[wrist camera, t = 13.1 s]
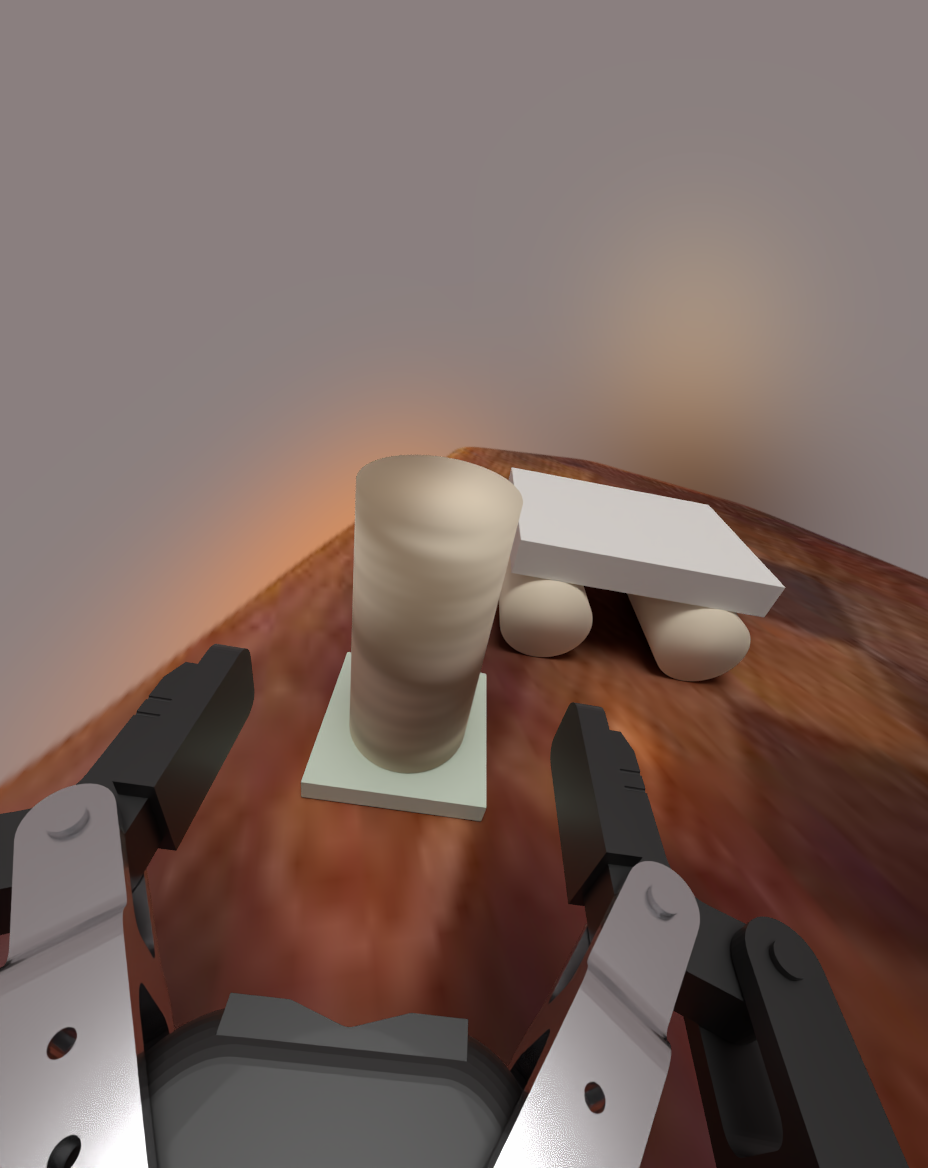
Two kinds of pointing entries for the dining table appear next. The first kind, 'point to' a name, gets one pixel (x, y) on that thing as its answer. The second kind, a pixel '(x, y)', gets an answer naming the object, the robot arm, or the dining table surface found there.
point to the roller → (423, 602)
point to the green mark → (359, 781)
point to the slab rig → (630, 574)
